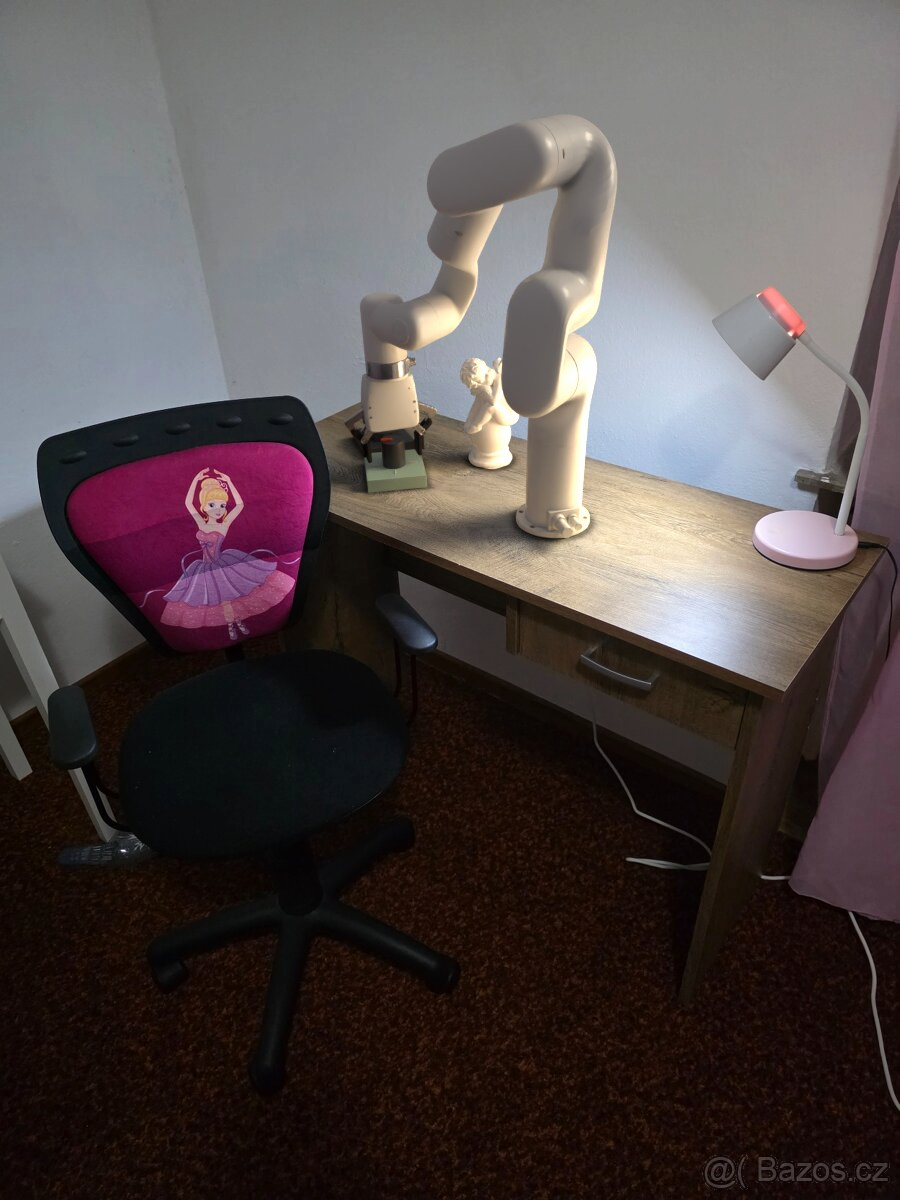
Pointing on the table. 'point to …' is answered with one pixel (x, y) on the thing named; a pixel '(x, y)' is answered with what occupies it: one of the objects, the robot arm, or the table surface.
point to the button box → (376, 437)
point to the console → (395, 474)
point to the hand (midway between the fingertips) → (393, 456)
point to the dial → (393, 451)
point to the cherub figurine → (487, 414)
